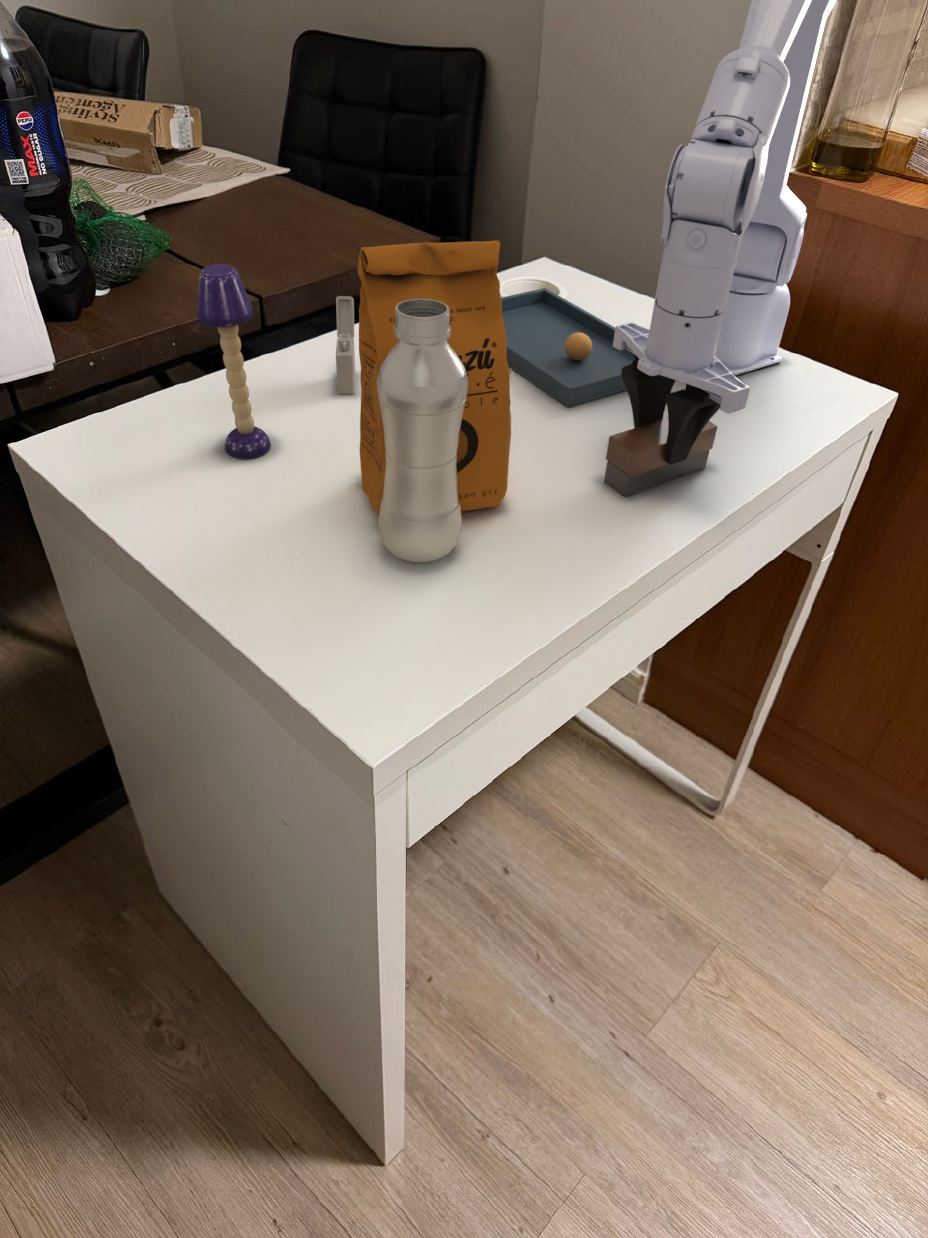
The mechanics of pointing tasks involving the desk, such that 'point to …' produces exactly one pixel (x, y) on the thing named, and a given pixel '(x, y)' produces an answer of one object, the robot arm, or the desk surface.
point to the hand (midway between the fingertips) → (660, 450)
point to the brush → (651, 457)
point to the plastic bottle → (421, 434)
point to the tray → (561, 347)
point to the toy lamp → (232, 352)
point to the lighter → (345, 345)
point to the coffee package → (476, 338)
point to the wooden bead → (578, 346)
